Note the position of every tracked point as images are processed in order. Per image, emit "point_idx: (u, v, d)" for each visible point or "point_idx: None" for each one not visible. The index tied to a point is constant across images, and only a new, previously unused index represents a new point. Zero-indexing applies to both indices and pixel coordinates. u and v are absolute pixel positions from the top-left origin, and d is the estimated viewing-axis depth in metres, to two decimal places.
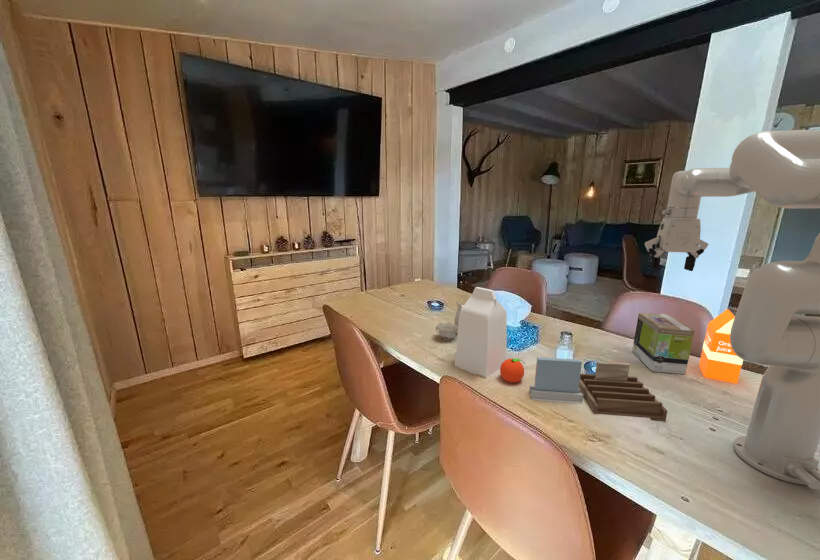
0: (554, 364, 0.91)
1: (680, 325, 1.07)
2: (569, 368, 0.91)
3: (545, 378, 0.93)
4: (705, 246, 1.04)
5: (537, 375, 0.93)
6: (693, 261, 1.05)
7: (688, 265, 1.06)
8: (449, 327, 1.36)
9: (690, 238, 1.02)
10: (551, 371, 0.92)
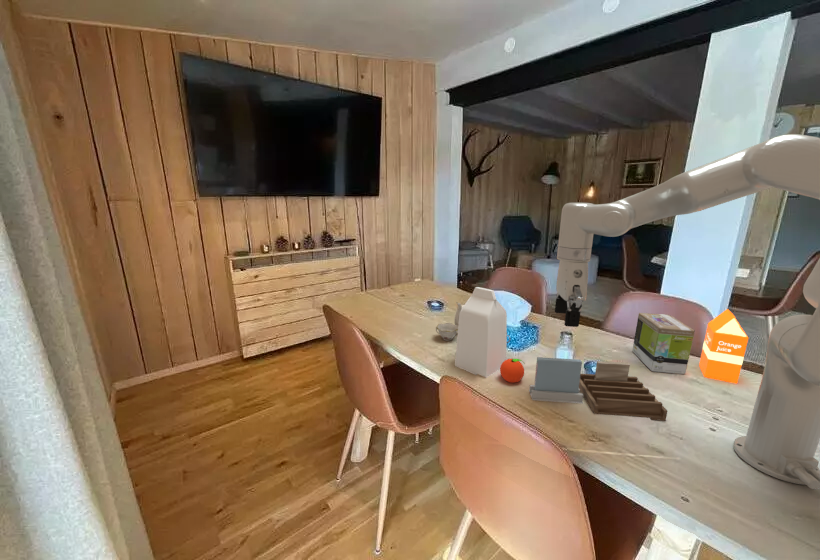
0: (554, 364, 0.91)
1: (680, 325, 1.07)
2: (569, 368, 0.91)
3: (545, 378, 0.93)
4: None
5: (537, 375, 0.93)
6: None
7: (563, 308, 0.93)
8: (449, 327, 1.35)
9: None
10: (551, 371, 0.92)
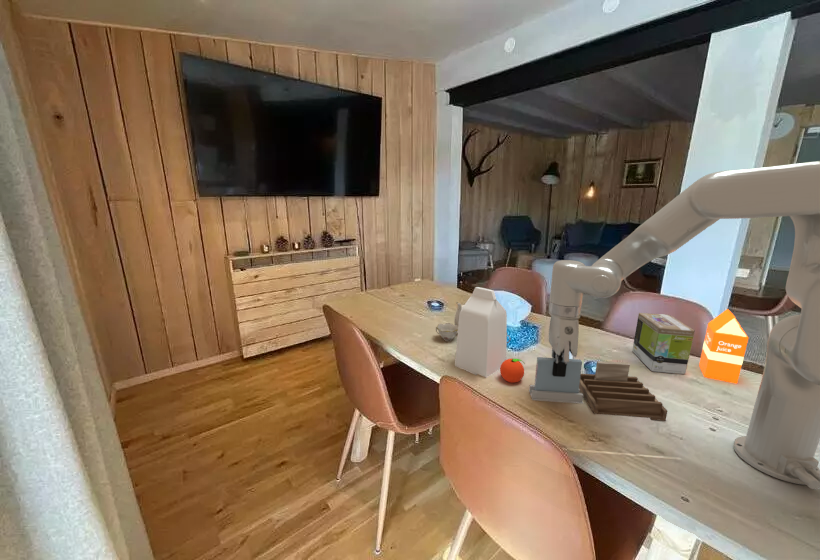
0: None
1: (680, 325, 1.07)
2: (569, 368, 0.91)
3: (545, 378, 0.93)
4: None
5: (537, 375, 0.93)
6: None
7: None
8: (449, 327, 1.35)
9: None
10: (551, 371, 0.92)
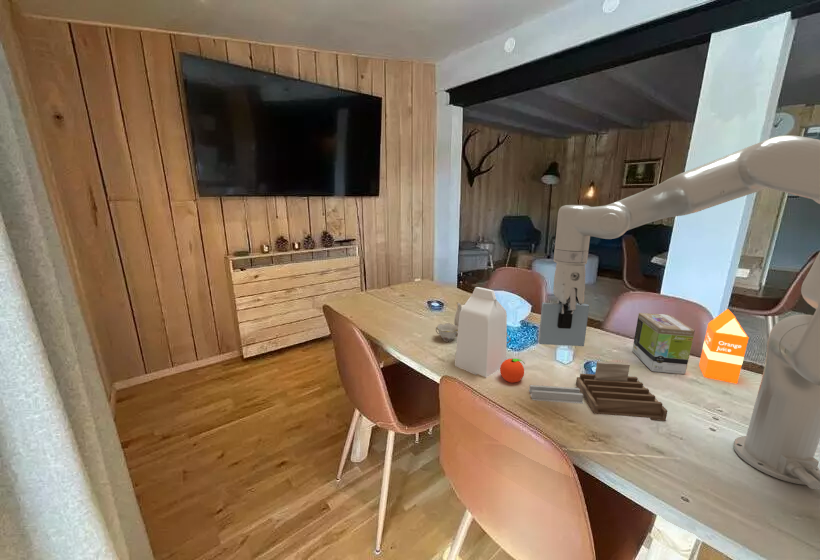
0: (560, 309, 0.88)
1: (680, 325, 1.07)
2: (575, 312, 0.87)
3: (550, 324, 0.89)
4: None
5: (542, 321, 0.89)
6: None
7: None
8: (449, 327, 1.35)
9: None
10: (557, 316, 0.88)
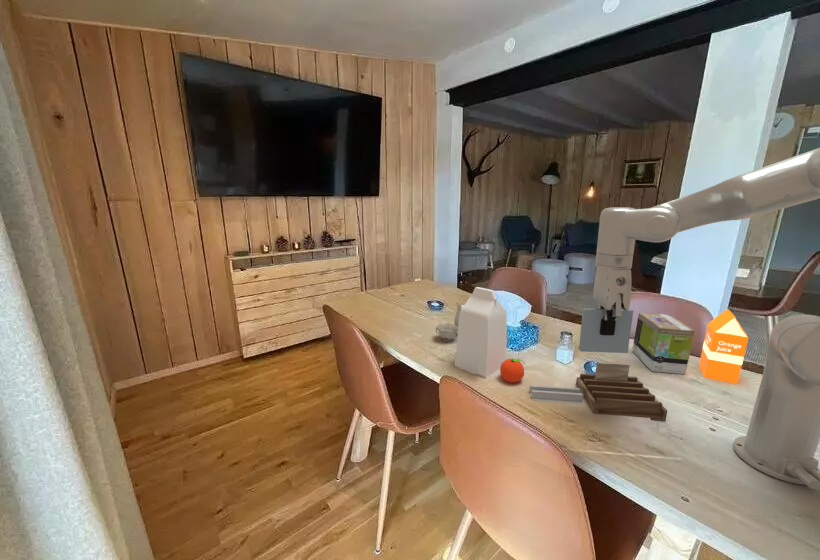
0: None
1: (680, 325, 1.07)
2: (619, 318, 0.84)
3: (592, 331, 0.86)
4: None
5: (584, 327, 0.86)
6: None
7: None
8: (449, 327, 1.35)
9: None
10: (599, 322, 0.85)
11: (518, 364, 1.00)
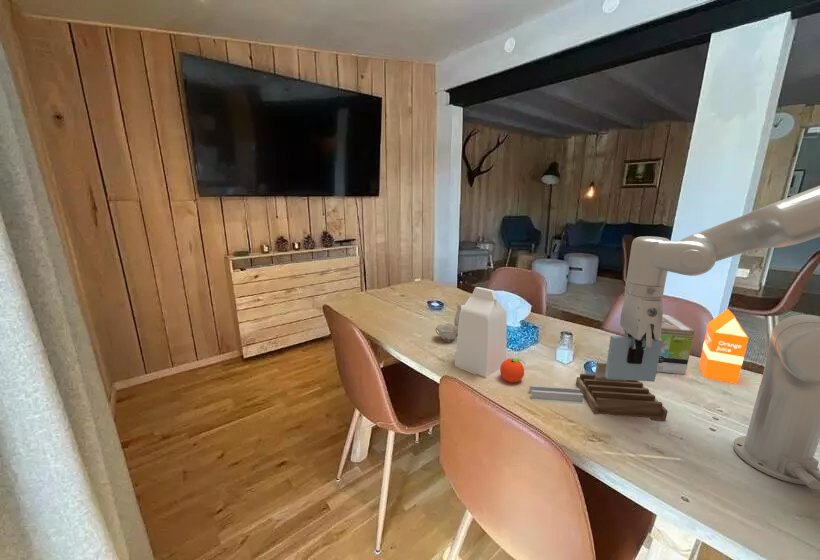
0: (631, 343, 0.84)
1: (680, 325, 1.07)
2: None
3: (620, 359, 0.85)
4: None
5: (611, 355, 0.85)
6: None
7: None
8: (449, 328, 1.35)
9: None
10: (627, 351, 0.84)
11: (518, 364, 1.00)
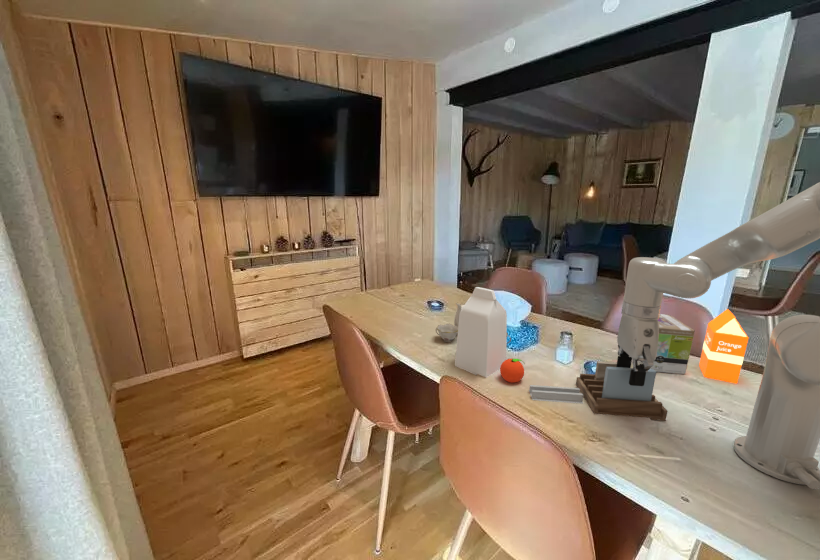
0: (626, 374, 0.86)
1: (680, 325, 1.07)
2: None
3: (615, 389, 0.87)
4: None
5: (606, 386, 0.87)
6: None
7: (625, 366, 0.89)
8: (449, 328, 1.34)
9: None
10: (622, 382, 0.86)
11: (518, 364, 1.00)
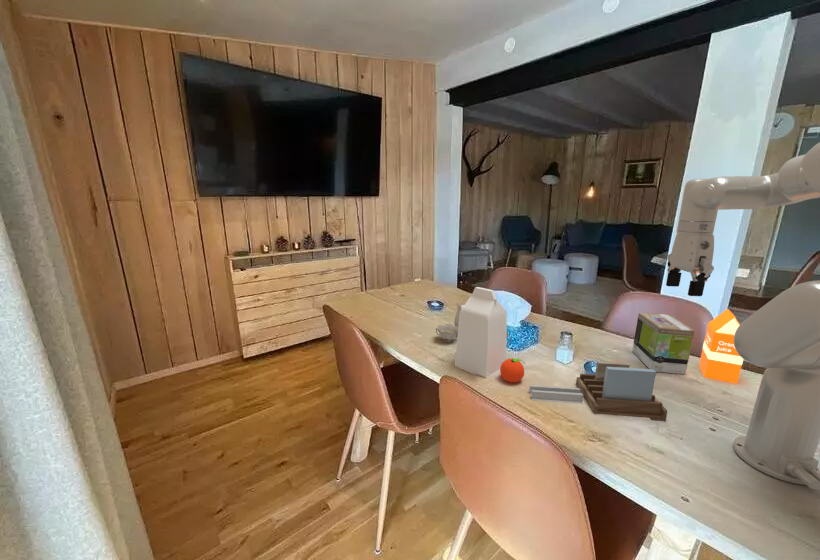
0: (626, 374, 0.86)
1: (680, 325, 1.07)
2: (641, 378, 0.86)
3: (615, 389, 0.87)
4: None
5: (606, 386, 0.87)
6: None
7: (675, 281, 0.99)
8: (449, 328, 1.34)
9: None
10: (622, 382, 0.86)
11: (518, 364, 1.00)
